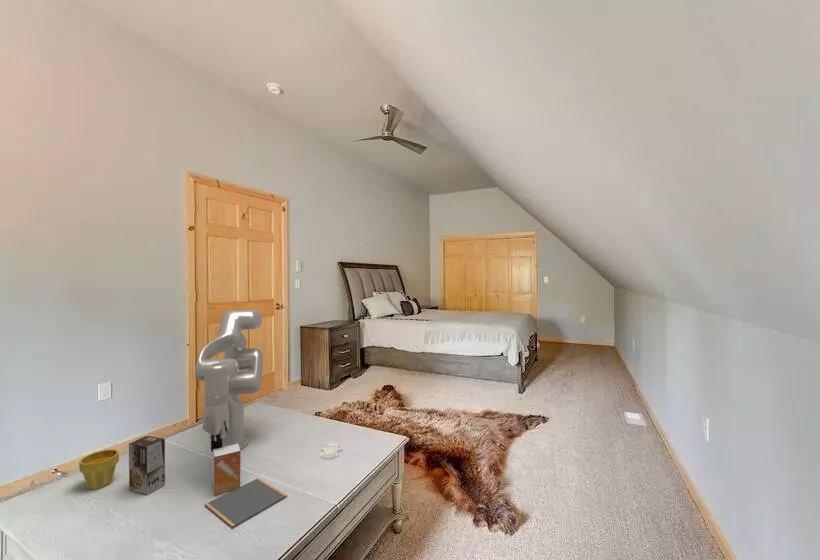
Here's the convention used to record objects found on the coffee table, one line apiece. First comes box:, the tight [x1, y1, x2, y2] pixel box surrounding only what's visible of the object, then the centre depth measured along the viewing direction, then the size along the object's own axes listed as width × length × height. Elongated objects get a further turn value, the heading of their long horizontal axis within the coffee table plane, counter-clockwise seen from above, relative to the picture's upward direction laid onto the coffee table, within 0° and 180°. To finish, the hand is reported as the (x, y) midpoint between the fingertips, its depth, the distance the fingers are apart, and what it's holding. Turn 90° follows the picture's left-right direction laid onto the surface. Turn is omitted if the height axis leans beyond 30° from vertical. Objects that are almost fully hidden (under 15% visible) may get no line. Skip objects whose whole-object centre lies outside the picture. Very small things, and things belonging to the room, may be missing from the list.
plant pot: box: [78, 448, 120, 490], centre depth 122 cm, size 10×10×10 cm
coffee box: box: [128, 435, 166, 496], centre depth 120 cm, size 9×6×16 cm
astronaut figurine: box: [318, 442, 343, 461], centre depth 144 cm, size 9×12×3 cm
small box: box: [212, 444, 242, 496], centre depth 120 cm, size 8×6×13 cm
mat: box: [204, 477, 288, 530], centre depth 112 cm, size 17×18×1 cm
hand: (216, 450), depth 124 cm, fingers closed
